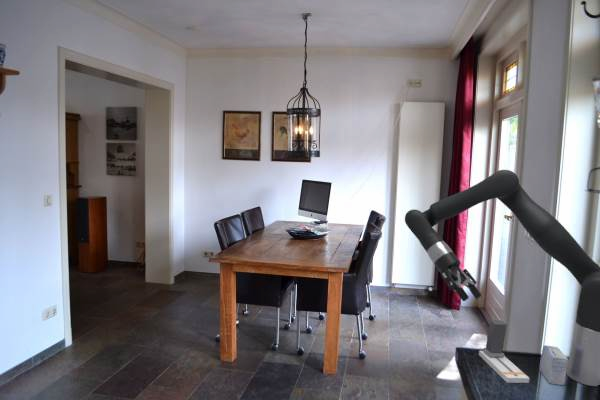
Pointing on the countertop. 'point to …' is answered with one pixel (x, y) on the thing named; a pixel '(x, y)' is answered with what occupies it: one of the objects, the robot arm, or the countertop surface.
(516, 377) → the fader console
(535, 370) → the countertop surface
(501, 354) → the fader tab
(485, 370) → the countertop surface
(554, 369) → the medicine box
